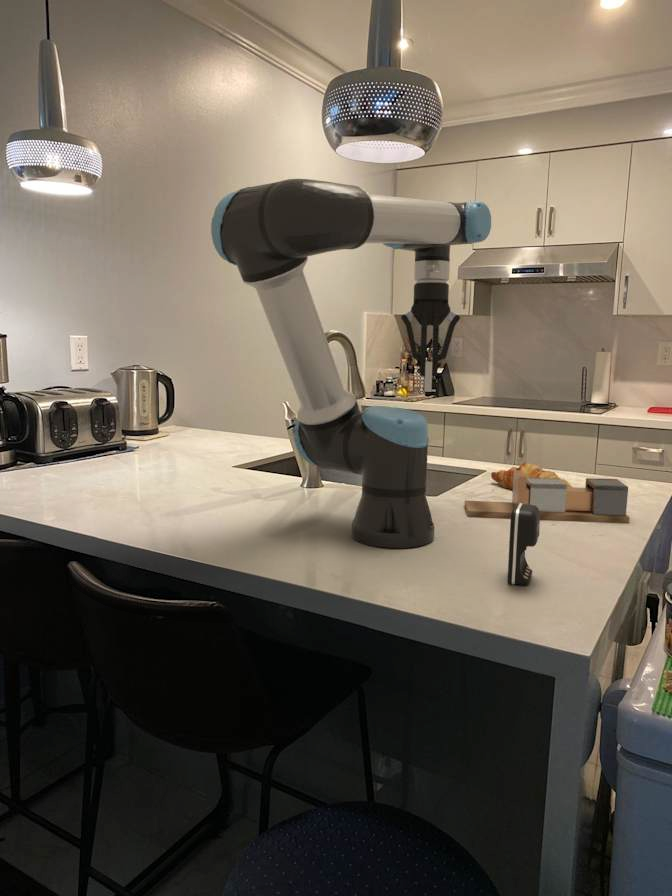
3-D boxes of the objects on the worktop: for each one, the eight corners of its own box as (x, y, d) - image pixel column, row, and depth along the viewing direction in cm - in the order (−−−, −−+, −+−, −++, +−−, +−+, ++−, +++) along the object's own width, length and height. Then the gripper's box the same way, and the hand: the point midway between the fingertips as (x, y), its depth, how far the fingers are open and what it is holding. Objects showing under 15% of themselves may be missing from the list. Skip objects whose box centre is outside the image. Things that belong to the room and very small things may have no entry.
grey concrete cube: (529, 511, 138) (531, 484, 137) (524, 504, 144) (525, 477, 143) (564, 513, 137) (566, 485, 136) (557, 505, 144) (559, 478, 143)
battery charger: (533, 588, 99) (537, 513, 97) (506, 585, 100) (510, 510, 98) (537, 573, 105) (542, 502, 103) (512, 570, 107) (516, 500, 105)
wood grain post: (517, 510, 138) (518, 476, 137) (512, 502, 145) (513, 470, 144) (615, 514, 136) (618, 480, 135) (606, 505, 143) (608, 473, 142)
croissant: (576, 509, 160) (585, 478, 161) (564, 496, 152) (573, 463, 154) (494, 493, 173) (502, 464, 174) (479, 481, 165) (488, 451, 167)
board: (467, 516, 138) (468, 510, 138) (464, 505, 147) (464, 500, 147) (629, 523, 135) (629, 517, 135) (615, 511, 144) (616, 506, 143)
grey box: (593, 514, 136) (595, 485, 135) (584, 505, 144) (586, 478, 143) (625, 516, 135) (628, 487, 134) (614, 506, 143) (617, 479, 142)
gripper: (401, 281, 143) (398, 391, 147) (463, 281, 142) (458, 393, 146) (401, 283, 151) (398, 389, 154) (460, 283, 149) (456, 390, 153)
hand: (427, 391), depth 150 cm, fingers closed
